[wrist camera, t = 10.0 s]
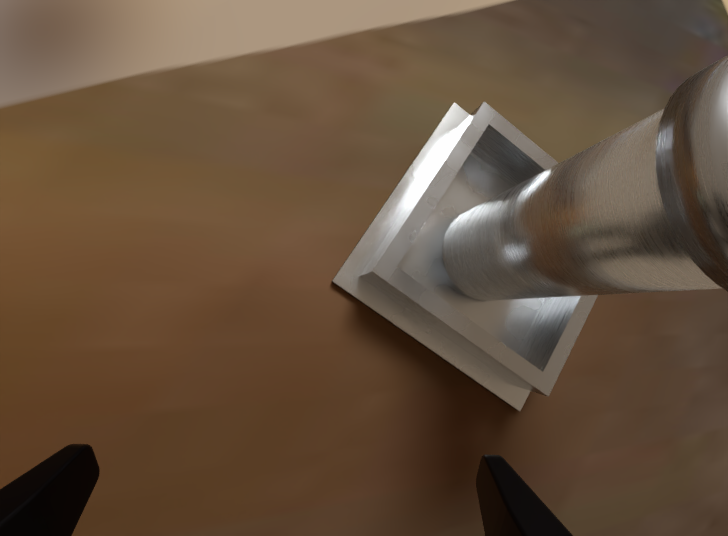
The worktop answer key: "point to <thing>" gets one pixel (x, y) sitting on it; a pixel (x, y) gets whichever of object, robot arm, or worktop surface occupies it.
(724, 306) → the worktop surface
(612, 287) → the lidded steel tumbler
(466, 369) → the collar
